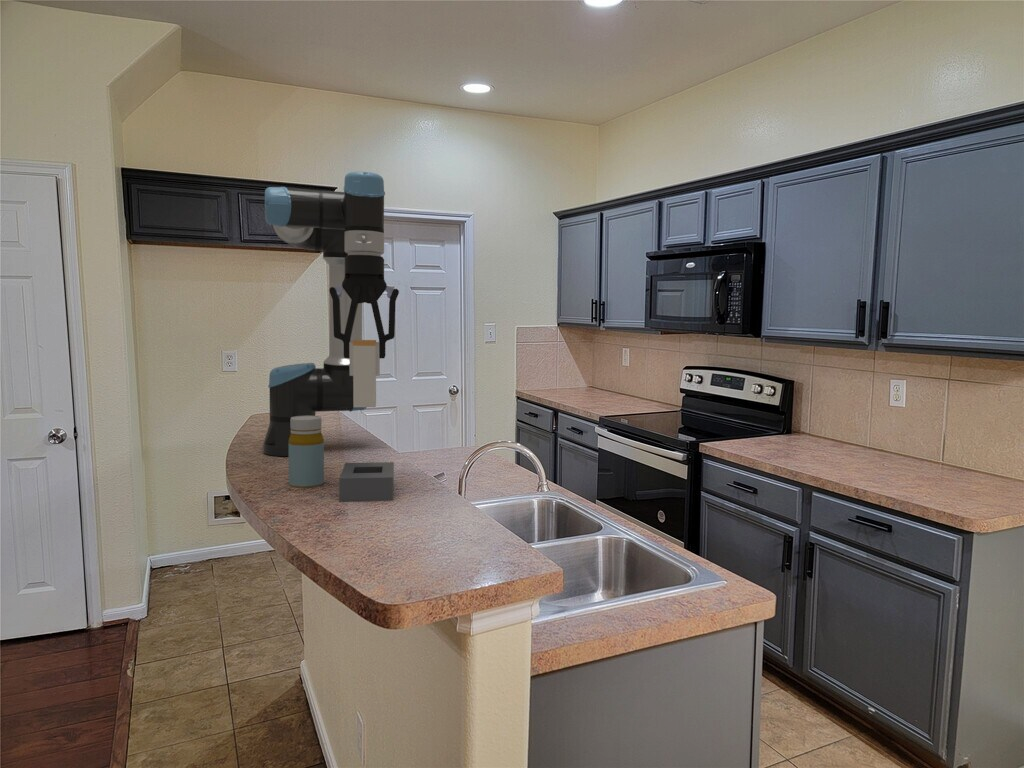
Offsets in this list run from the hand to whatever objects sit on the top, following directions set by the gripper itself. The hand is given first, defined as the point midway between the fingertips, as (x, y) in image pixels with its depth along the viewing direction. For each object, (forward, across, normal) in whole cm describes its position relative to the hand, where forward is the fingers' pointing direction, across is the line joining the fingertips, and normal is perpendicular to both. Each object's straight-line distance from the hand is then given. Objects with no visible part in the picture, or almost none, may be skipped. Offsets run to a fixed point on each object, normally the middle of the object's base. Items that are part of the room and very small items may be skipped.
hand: (364, 374), depth 133 cm
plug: (+6, 0, 0) cm, 6 cm away
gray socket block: (+25, +1, 0) cm, 25 cm away
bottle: (+25, -12, +8) cm, 29 cm away
